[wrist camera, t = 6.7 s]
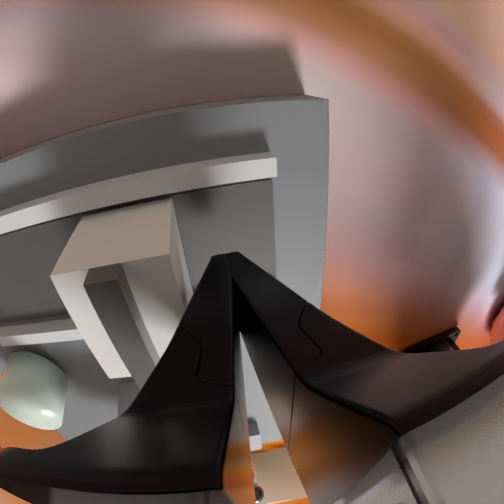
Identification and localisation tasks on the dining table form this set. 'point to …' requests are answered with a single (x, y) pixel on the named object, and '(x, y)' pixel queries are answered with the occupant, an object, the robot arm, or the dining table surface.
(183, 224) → the switch panel
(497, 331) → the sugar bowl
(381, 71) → the dining table surface
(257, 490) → the toggle lever
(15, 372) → the push button
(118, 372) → the slide paddle
